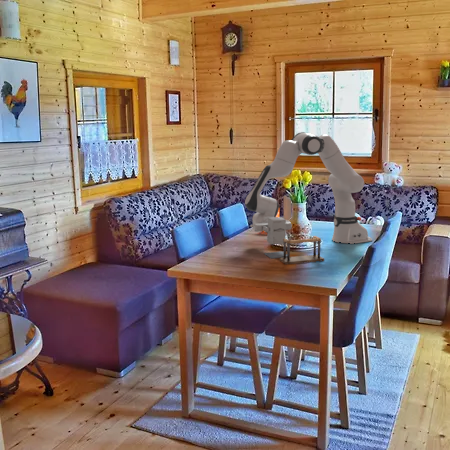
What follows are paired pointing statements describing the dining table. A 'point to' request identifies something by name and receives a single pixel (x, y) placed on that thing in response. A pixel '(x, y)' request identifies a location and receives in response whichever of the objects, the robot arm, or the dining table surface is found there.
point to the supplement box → (276, 230)
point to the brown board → (302, 259)
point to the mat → (275, 254)
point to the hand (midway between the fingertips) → (277, 229)
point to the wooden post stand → (301, 242)
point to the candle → (287, 208)
